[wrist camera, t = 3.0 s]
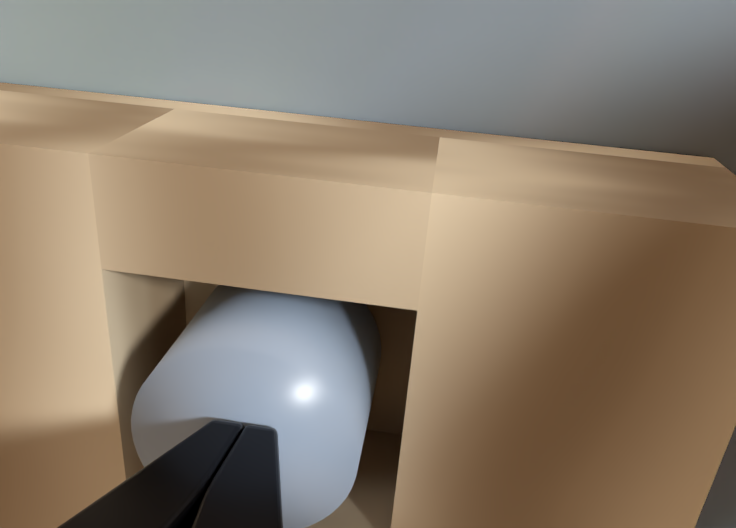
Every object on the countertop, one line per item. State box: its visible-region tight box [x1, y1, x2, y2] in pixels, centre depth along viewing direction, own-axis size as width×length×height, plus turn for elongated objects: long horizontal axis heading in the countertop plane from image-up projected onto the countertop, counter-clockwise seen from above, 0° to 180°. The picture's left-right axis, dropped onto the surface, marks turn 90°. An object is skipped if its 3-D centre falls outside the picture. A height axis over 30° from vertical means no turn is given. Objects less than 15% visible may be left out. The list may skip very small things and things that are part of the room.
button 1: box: [131, 285, 381, 528], centre depth 9 cm, size 3×3×2 cm
